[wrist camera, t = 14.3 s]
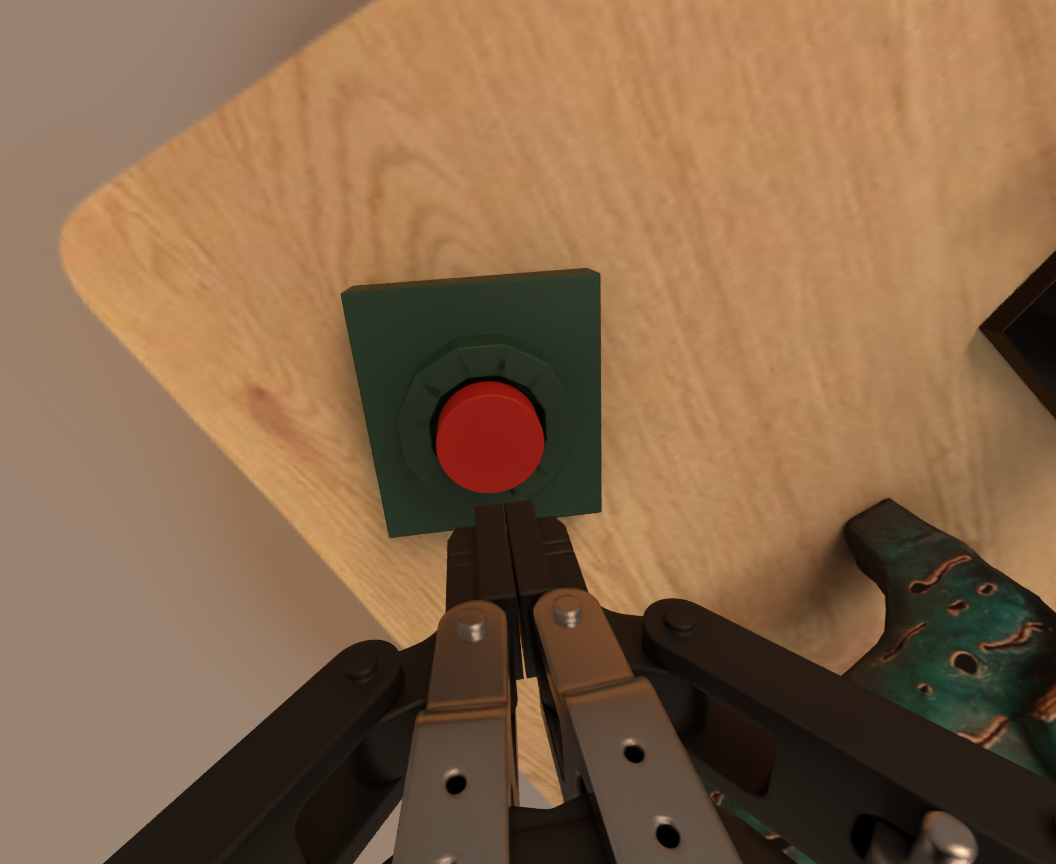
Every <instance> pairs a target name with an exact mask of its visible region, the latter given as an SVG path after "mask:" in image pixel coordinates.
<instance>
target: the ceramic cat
mask: <svg viewBox="0 0 1056 864" xmlns="http://www.w3.org/2000/svg"><path fill="white" fill-rule="evenodd" d="M845 538H846V542H847V546H848V547H849V549H850V551H851V553H852V555H853V556H854V558H855V561H856V565H857V566H858V568H859V569H860V570H861V571H862V572H863V573H864V574H865V575H866V576H867V577H869V578H870V579H871V580H873V581H874V582H875V583H876V584H877V585H878V587H879V588H880V590H881V591H882V592H883V594H884V595H885V603H886V616H885V629H884V633H883V634H882V636H881V638H880V639H879V641H878V643H877V644H876V645H875V646H874V647H873V648H872V649H871V650H870V651H868V652H867V653H866V654H865V655H864V656H863V657H862V658H861V659H860V660H859V661H858V662H857V663H855V664H854V665H853V666H852V667H851V668H850V669H849V670H848V671H846V672H845V673H844V674H843V675H841V676H842V677H844V678H846V679H848V680H850V681H852V682H854V683H856V684H858V685H860V686H862V687H864V688H866V689H868V690H870V691H872V692H874V693H876V694H878V695H880V696H882V697H884V698H886V699H888V700H890V701H892V702H894V703H896V704H898V705H900V706H902V707H904V708H906V709H908V710H910V711H912V712H914V713H916V714H918V715H920V716H922V717H924V718H926V719H928V720H930V721H932V722H934V723H936V724H938V725H940V726H942V727H944V728H946V729H948V730H950V731H952V732H954V733H956V734H958V735H960V736H962V737H964V738H966V739H968V740H970V741H972V742H974V743H976V744H978V745H980V746H982V747H984V748H986V749H988V750H990V751H992V752H994V753H996V754H998V755H1000V756H1002V757H1004V758H1006V759H1008V760H1010V761H1012V762H1014V763H1016V764H1018V765H1020V766H1022V767H1024V768H1026V769H1028V770H1030V771H1032V772H1034V773H1036V774H1038V775H1040V776H1042V777H1044V778H1046V779H1048V780H1050V781H1052V782H1054V783H1056V613H1055V612H1054V611H1053V610H1052V609H1051V608H1050V607H1049V606H1047V605H1046V604H1045V603H1044V602H1043V601H1042V600H1041V599H1040V597H1039V596H1037V595H1036V594H1034V593H1032V592H1031V591H1030V590H1028V589H1026V588H1024V587H1023V586H1021V585H1020V584H1018V583H1017V582H1015V581H1014V580H1012V579H1011V578H1009V577H1008V576H1006V575H1005V574H1004V573H1002V572H1000V571H999V570H997V569H995V568H993V567H992V566H990V565H989V564H988V563H986V562H985V561H984V560H983V559H982V558H981V557H980V556H979V555H978V554H977V553H976V552H975V551H974V550H973V549H972V548H971V547H970V546H969V545H968V544H966V543H965V542H964V541H962V540H960V539H958V538H955V537H953V536H951V535H949V534H946V533H945V532H943V531H941V530H939V529H937V528H935V527H933V526H932V525H930V524H928V523H926V522H925V521H923V520H921V519H920V518H918V517H917V516H915V515H914V514H913V513H911V512H910V511H908V510H907V509H905V508H904V507H902V506H900V505H899V504H897V503H896V502H894V501H893V500H891V499H890V498H888V499H886V500H884V501H882V502H881V503H879V504H877V505H875V506H873V507H872V508H870V509H868V510H866V511H865V512H863V513H861V514H859V515H858V516H856V517H854V518H853V519H851V520H850V521H849V522H848V524H847V526H846V529H845ZM715 700H716V699H715ZM728 708H729V707H728ZM741 716H742V715H741ZM749 721H750V720H749ZM699 778H700V777H699ZM700 780H701V782H702V784H703V786H704V788H705V790H706V792H707V794H708V796H709V798H710V800H711V802H712V803H714V804H716V805H718V806H720V807H722V808H724V809H726V810H728V811H729V812H731V813H733V814H734V815H736V816H737V817H739V818H741V819H742V820H743V821H745V822H746V823H747V824H749V825H750V826H751V827H753V828H754V829H755V830H756V831H758V832H759V833H760V834H761V835H763V836H764V837H765V838H767V839H768V840H769V841H770V842H772V843H773V844H774V845H775V846H777V847H778V848H779V849H780V850H782V851H783V852H784V853H785V854H787V855H788V856H789V857H790V858H792V859H793V860H794V861H795V862H797V863H798V864H817V863H815V862H814V861H813V860H811V859H810V858H808V857H807V856H806V855H804V854H803V853H802V852H800V851H799V850H798V849H796V848H795V847H794V846H792V845H791V844H790V843H788V842H787V841H785V840H784V839H783V838H781V837H780V836H779V835H777V834H776V833H775V832H773V831H772V830H771V829H769V828H768V827H766V826H765V825H764V824H762V823H761V822H760V821H758V820H757V819H756V818H754V817H753V816H752V815H750V814H749V813H747V812H746V811H745V810H743V809H742V808H741V807H739V806H738V805H737V804H735V803H734V802H733V801H731V800H730V799H729V798H727V797H726V796H724V795H723V794H722V793H720V792H719V791H718V790H716V789H715V788H714V787H712V786H711V785H710V784H708V783H707V782H705V781H704V780H703V779H701V778H700Z"/></svg>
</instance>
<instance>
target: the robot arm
mask: <svg viewBox="0 0 1056 864" xmlns="http://www.w3.org/2000/svg"><path fill="white" fill-rule="evenodd" d="M504 510H505V520H504V514H503V507H502V503H500V504H491V505H483V506H475V523H476V526H469V527H461V528H456V529H455V530H454V532H453V534H452V535H451V537H450V538H449V540H448V544H447V582H446V613H445V614H444V615H443V617H442V618H441V620H440V622H439V625H438V629H437V631H436V632H435V633H434V634H432V635H431V636H430V637H429V638H427V639H426V640H424V641H422V642H420V643H418V644H416V645H414V646H411V647H409V648H407V649H404V650H402V651H398V650H397V648H396V647H395V646H394V645H392V644H391V643H389V642H386V641H383V640H366V641H362V642H359V643H356V644H354V645H352V646H349V647H348V648H346V649H344V650H343V651H342V652H340V653H339V654H338V655H337V656H335V657H334V658H333V659H332V660H331V661H330V662H329V663H327V665H326V666H324V667H323V668H322V669H321V670H320V671H319V672H317V673H316V674H315V675H314V676H313V677H312V678H311V679H310V680H309V681H307V682H306V683H305V684H304V685H303V686H302V687H301V688H299V689H298V690H297V691H296V692H295V693H294V694H293V695H292V696H291V697H289V698H288V699H287V700H286V701H285V702H284V703H283V704H282V705H280V706H279V707H278V708H277V709H276V710H275V711H274V712H273V713H271V714H270V715H269V716H268V717H267V718H266V719H265V720H264V721H262V723H260V724H259V725H258V726H257V727H256V728H255V729H254V730H253V731H251V732H250V733H249V734H248V735H247V736H246V737H245V738H243V739H242V740H241V741H240V742H239V743H238V744H237V745H236V746H234V747H233V748H232V749H231V750H230V751H229V752H228V753H227V754H225V755H224V756H223V757H222V758H221V759H220V760H219V761H218V762H217V763H215V764H214V765H213V766H212V767H211V768H210V769H209V770H208V771H207V772H206V773H204V774H203V775H202V776H201V777H200V778H199V779H197V780H196V781H195V782H194V783H193V784H192V785H191V786H190V787H189V788H187V789H186V790H185V791H184V792H183V793H182V794H181V795H179V796H178V797H177V798H176V799H175V800H174V801H173V802H172V803H171V804H169V805H168V806H167V807H166V808H165V809H164V810H163V811H162V812H161V813H159V814H158V815H157V816H156V817H155V818H154V819H153V820H152V821H150V822H149V823H148V824H147V825H146V826H145V827H144V828H143V829H141V830H140V831H139V832H138V833H137V834H136V835H135V836H134V837H132V838H131V839H130V840H129V841H128V842H127V843H126V844H125V845H123V846H122V847H121V848H120V849H119V850H118V851H117V852H116V853H114V854H113V855H112V856H111V857H110V858H109V859H108V860H107V861H105V862H104V863H103V864H353V863H354V862H355V860H356V859H357V858H358V856H359V855H360V853H361V852H362V851H363V850H364V848H365V847H366V846H367V844H368V843H369V842H370V840H371V839H372V838H373V836H374V835H375V834H376V832H377V831H378V830H379V828H380V827H381V826H382V824H383V823H384V821H385V820H386V819H387V818H388V817H389V815H390V814H391V813H392V811H393V810H394V809H395V807H396V806H397V805H398V803H399V802H400V800H401V799H402V798H403V799H402V805H401V811H400V817H399V823H398V829H397V836H396V842H395V848H394V854H393V855H392V856H391V857H390V858H389V859H387V860H386V861H385V862H384V863H383V864H798V863H797V862H795V861H794V860H793V859H792V858H790V857H789V856H788V855H787V854H785V853H784V852H783V851H782V850H780V849H779V848H778V847H777V846H775V845H774V844H773V843H772V842H770V841H769V840H768V839H767V838H765V837H764V836H763V835H761V834H760V833H759V832H758V831H756V830H755V829H754V828H753V827H751V826H750V825H749V824H747V823H746V822H745V821H743V820H742V819H741V818H739V817H737V816H736V815H734V814H733V813H731V812H729V811H728V810H726V809H724V808H722V807H720V806H718V805H716V804H714V803H712V802H711V800H710V798H709V796H708V794H707V792H706V790H705V788H704V786H703V784H702V782H701V780H700V778H701V779H703V780H704V781H705V782H707V783H708V784H710V785H711V786H712V787H714V788H715V789H716V790H718V791H719V792H720V793H722V794H723V795H724V796H726V797H727V798H729V799H730V800H731V801H733V802H734V803H735V804H737V805H738V806H739V807H741V808H742V809H743V810H745V811H746V812H747V813H749V814H750V815H752V816H753V817H754V818H756V819H757V820H758V821H760V822H761V823H762V824H764V825H765V826H766V827H768V828H769V829H771V830H772V831H773V832H775V833H776V834H777V835H779V836H780V837H781V838H783V839H784V840H785V841H787V842H788V843H790V844H791V845H792V846H794V847H795V848H796V849H798V850H799V851H800V852H802V853H803V854H804V855H806V856H807V857H808V858H810V859H811V860H813V861H814V862H815V863H817V864H1056V783H1054V782H1052V781H1050V780H1048V779H1046V778H1044V777H1042V776H1040V775H1038V774H1036V773H1034V772H1032V771H1030V770H1028V769H1026V768H1024V767H1022V766H1020V765H1018V764H1016V763H1014V762H1012V761H1010V760H1008V759H1006V758H1004V757H1002V756H1000V755H998V754H996V753H994V752H992V751H990V750H988V749H986V748H984V747H982V746H980V745H978V744H976V743H974V742H972V741H970V740H968V739H966V738H964V737H962V736H960V735H958V734H956V733H954V732H952V731H950V730H948V729H946V728H944V727H942V726H940V725H938V724H936V723H934V722H932V721H930V720H928V719H926V718H924V717H922V716H920V715H918V714H916V713H914V712H912V711H910V710H908V709H906V708H904V707H902V706H900V705H898V704H896V703H894V702H892V701H890V700H888V699H886V698H884V697H882V696H880V695H878V694H876V693H874V692H872V691H870V690H868V689H866V688H864V687H862V686H860V685H858V684H856V683H854V682H852V681H850V680H848V679H846V678H844V677H842V676H840V675H838V674H836V673H834V672H832V671H830V670H828V669H826V668H824V667H822V666H820V665H818V664H816V663H814V662H812V661H810V660H808V659H806V658H804V657H802V656H800V655H798V654H796V653H794V652H791V651H789V650H787V649H785V648H783V647H781V646H779V645H777V644H775V643H773V642H771V641H769V640H767V639H765V638H763V637H761V636H759V635H757V634H755V633H753V632H751V631H749V630H747V629H745V628H743V627H741V626H739V625H737V624H735V623H733V622H731V621H729V620H727V619H725V618H723V617H721V616H719V615H717V614H715V613H713V612H711V611H709V610H707V609H705V608H703V607H701V606H699V605H697V604H695V603H693V602H690V601H687V600H683V599H675V598H671V599H663V600H659V601H656V602H655V603H653V604H651V605H650V606H649V607H648V608H647V609H646V611H645V613H644V616H635V615H626V614H620V613H616V612H612V611H610V610H607V609H605V608H603V607H602V606H600V604H599V602H598V601H597V599H596V598H595V597H594V596H592V595H591V594H589V592H588V590H587V587H586V584H585V581H584V578H583V576H582V573H581V570H580V567H579V564H578V561H577V558H576V556H575V553H574V551H573V547H572V544H571V541H570V538H569V536H568V533H567V530H566V527H565V525H563V524H562V523H561V522H560V521H559V520H558V519H556V518H555V517H554V516H549V517H541V518H536V515H535V511H534V508H533V504H532V500H524V501H515V502H507V503H504ZM505 521H506V526H505ZM506 532H507V533H506ZM519 630H520V631H519ZM520 637H521V642H520ZM521 644H522V650H523V657H524V663H525V670H526V676H527V678H532V677H537V681H538V687H539V694H540V708H541V713H542V717H543V721H544V725H545V729H546V733H547V737H548V741H549V745H550V748H551V752H552V756H553V760H554V764H555V768H556V772H557V776H558V779H559V783H560V787H561V791H562V795H563V800H564V803H563V804H561V805H559V806H557V807H555V808H552V809H536V808H527V807H520V802H519V776H518V748H517V720H516V706H517V701H518V696H517V686H516V680H520V679H524V676H523V665H522V653H521ZM715 699H716V700H715ZM728 707H729V708H728ZM741 715H742V716H741ZM749 720H750V721H749ZM699 777H700V778H699Z"/></svg>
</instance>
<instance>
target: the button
mask: <svg viewBox="0 0 1056 864" xmlns="http://www.w3.org/2000/svg"><path fill="white" fill-rule="evenodd" d="M543 450H544V434H543V430H542V427H541V424H540V422H539V419H538V417H537V414H536V412H535V409H534V407H533V405H532V404H531V402H530V401H529V399H528V398H527V397H526V396H525V395H524V394H523V393H522V392H520V391H519V390H518V389H516V388H514V387H512V386H510V385H508V384H505V383H501V382H496V381H482V382H476V383H473V384H470V385H468V386H465V387H463V388H462V389H460V390H458V391H457V392H456V393H455V394H453V395H452V396H451V397H450V398H449V399H448V401H447V402H446V404H445V405H444V407H443V409H442V411H441V413H440V416H439V420H438V428H437V438H436V451H437V456H438V459H439V462H440V464H441V466H442V468H443V470H444V471H445V472H446V474H447V475H448V476H449V477H450V478H451V479H452V480H453V481H454V482H456V483H457V484H459V485H460V486H462V487H464V488H466V489H468V490H472V491H475V492H480V493H497V492H503V491H506V490H509V489H512V488H514V487H516V486H518V485H519V484H521V483H522V482H524V481H525V480H526V479H527V478H528V477H530V476H531V474H532V473H533V472H534V471H535V469H536V468H537V466H538V465H539V462H540V460H541V458H542V455H543Z"/></svg>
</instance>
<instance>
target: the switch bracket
mask: <svg viewBox="0 0 1056 864" xmlns="http://www.w3.org/2000/svg"><path fill="white" fill-rule="evenodd" d="M980 329H981V330H982V331H983V332H984V334H985V335H986V336H987V337H988V338H989V339H990V341H991V342H992V343H993V344H994V345H995V347H996V348H997V349H998V350H999V351H1000V353H1001V354H1002V355H1003V356H1004V357H1005V358H1006V360H1007V361H1008V362H1009V363H1010V364H1011V366H1012V367H1013V368H1014V369H1015V370H1016V371H1017V373H1018V374H1019V375H1020V376H1021V377H1022V379H1023V380H1024V381H1025V382H1026V383H1027V384H1028V386H1029V387H1030V388H1031V389H1032V390H1033V392H1034V393H1035V394H1036V395H1037V396H1038V398H1039V399H1040V400H1041V401H1042V402H1043V403H1044V405H1045V406H1046V407H1047V408H1048V409H1049V411H1050V412H1051V413H1052V414H1053V415H1054V416H1055V418H1056V252H1055V253H1054V254H1053V255H1052V256H1051V257H1050V258H1049V259H1048V260H1047V261H1046V262H1045V263H1044V264H1043V265H1042V266H1041V267H1040V268H1039V269H1038V270H1037V271H1036V272H1035V273H1034V274H1033V275H1032V276H1031V277H1030V278H1029V279H1028V280H1027V281H1026V282H1024V283H1023V284H1022V285H1021V286H1020V287H1019V288H1018V289H1017V290H1016V291H1015V292H1014V293H1013V294H1012V295H1011V296H1010V297H1009V298H1008V299H1007V300H1006V301H1005V302H1004V303H1003V304H1002V305H1001V306H1000V307H999V308H998V309H997V310H996V311H995V312H994V313H993V314H992V315H991V316H990V317H989V318H988V319H987V320H986V321H985V322H984V323H983V324H982V325H981V326H980Z"/></svg>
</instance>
